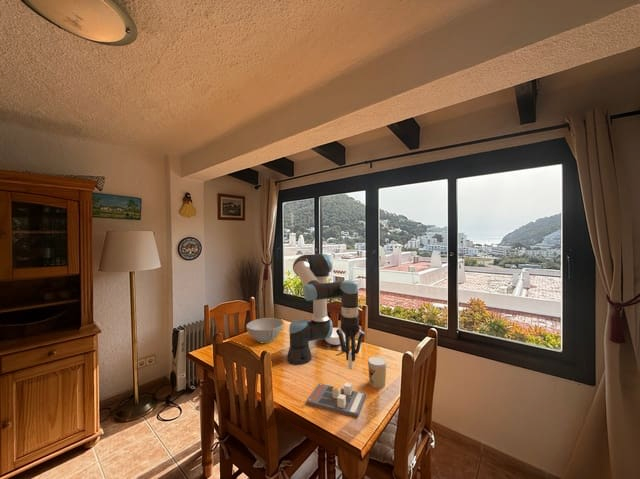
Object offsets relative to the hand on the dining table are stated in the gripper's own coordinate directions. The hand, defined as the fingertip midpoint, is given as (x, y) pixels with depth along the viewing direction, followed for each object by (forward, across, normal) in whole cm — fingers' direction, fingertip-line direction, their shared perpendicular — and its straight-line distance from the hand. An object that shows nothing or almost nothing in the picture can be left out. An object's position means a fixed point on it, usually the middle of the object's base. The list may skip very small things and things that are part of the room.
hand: (350, 367), depth 118 cm
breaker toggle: (+15, -7, 0) cm, 17 cm away
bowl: (+17, -29, +61) cm, 70 cm away
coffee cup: (+17, +8, +20) cm, 28 cm away
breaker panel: (+17, -7, 0) cm, 18 cm away
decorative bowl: (+16, -79, +47) cm, 94 cm away
